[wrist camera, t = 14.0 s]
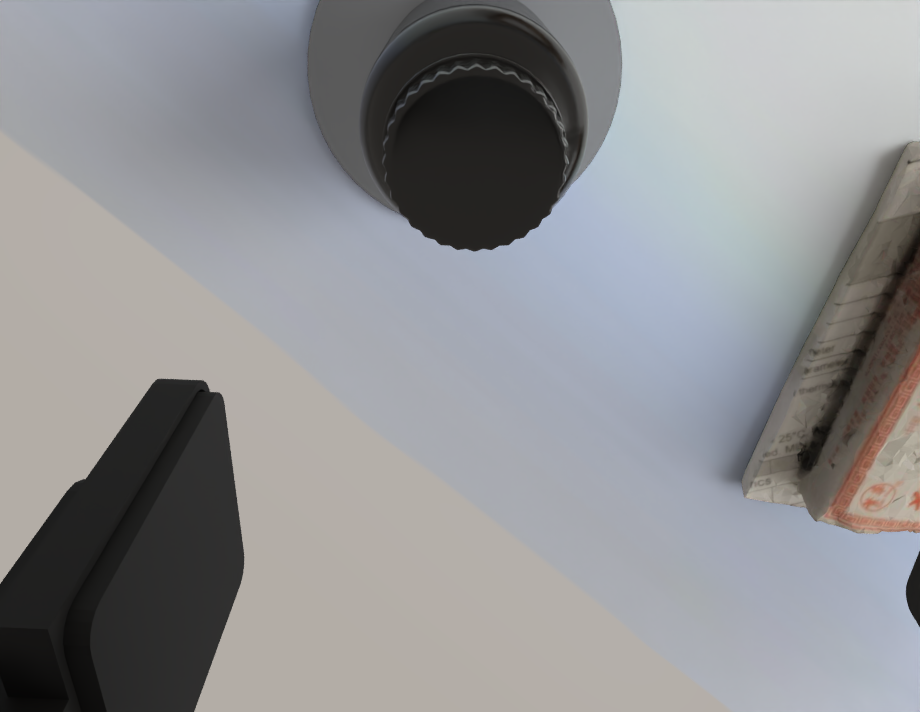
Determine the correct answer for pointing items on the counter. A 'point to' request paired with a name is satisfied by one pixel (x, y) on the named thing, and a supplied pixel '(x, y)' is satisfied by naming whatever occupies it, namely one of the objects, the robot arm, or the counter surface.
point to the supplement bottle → (473, 121)
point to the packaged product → (856, 385)
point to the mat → (373, 22)
